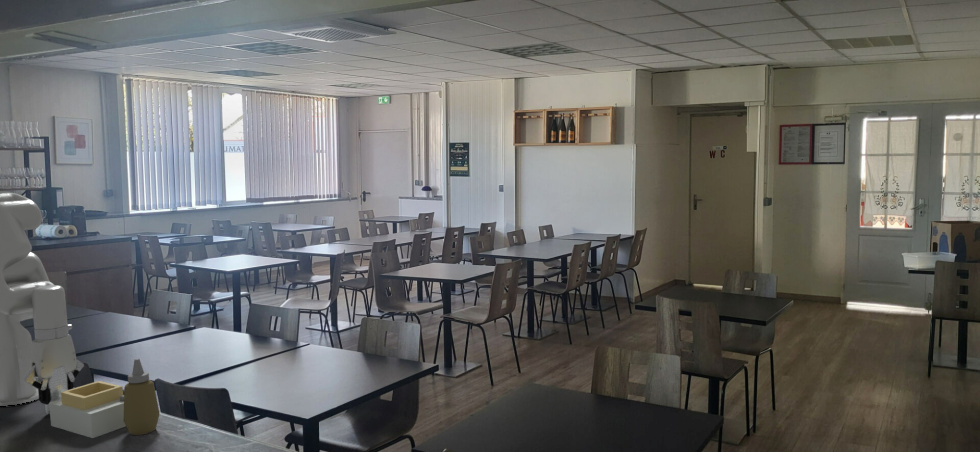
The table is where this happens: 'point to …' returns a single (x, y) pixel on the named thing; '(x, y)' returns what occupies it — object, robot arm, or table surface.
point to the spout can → (56, 385)
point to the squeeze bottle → (140, 402)
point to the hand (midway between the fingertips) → (56, 399)
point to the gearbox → (89, 409)
